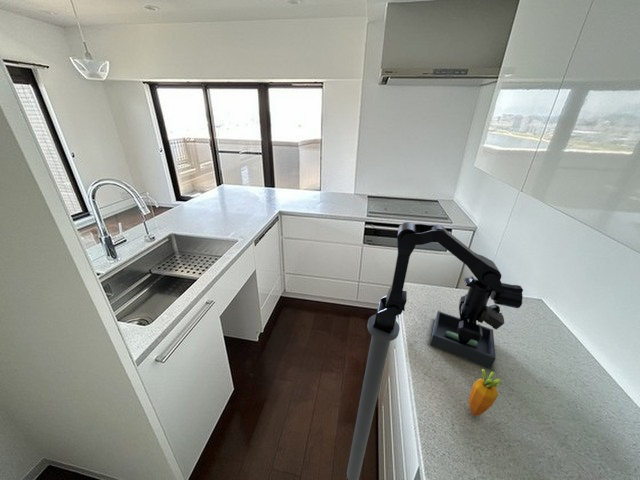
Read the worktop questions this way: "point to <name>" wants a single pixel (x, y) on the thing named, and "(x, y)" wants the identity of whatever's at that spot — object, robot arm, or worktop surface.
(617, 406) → the worktop surface
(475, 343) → the pale green rod
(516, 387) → the worktop surface
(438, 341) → the bin
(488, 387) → the carrot
